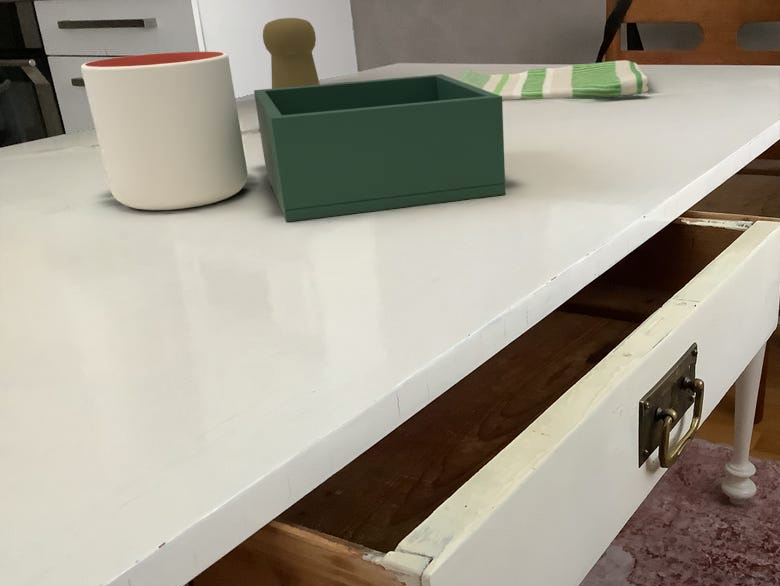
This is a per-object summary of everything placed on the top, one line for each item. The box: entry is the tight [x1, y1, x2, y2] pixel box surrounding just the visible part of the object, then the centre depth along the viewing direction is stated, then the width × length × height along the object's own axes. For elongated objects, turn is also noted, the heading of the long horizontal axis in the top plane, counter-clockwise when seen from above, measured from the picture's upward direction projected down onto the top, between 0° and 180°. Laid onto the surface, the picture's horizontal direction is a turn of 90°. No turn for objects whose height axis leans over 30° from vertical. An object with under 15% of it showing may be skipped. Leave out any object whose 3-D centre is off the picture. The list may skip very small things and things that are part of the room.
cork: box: [262, 17, 321, 89], centre depth 87 cm, size 6×6×11 cm
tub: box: [253, 73, 506, 223], centre depth 64 cm, size 16×16×7 cm
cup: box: [80, 51, 248, 211], centre depth 62 cm, size 10×10×10 cm
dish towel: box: [458, 59, 650, 101], centre depth 105 cm, size 18×23×3 cm
